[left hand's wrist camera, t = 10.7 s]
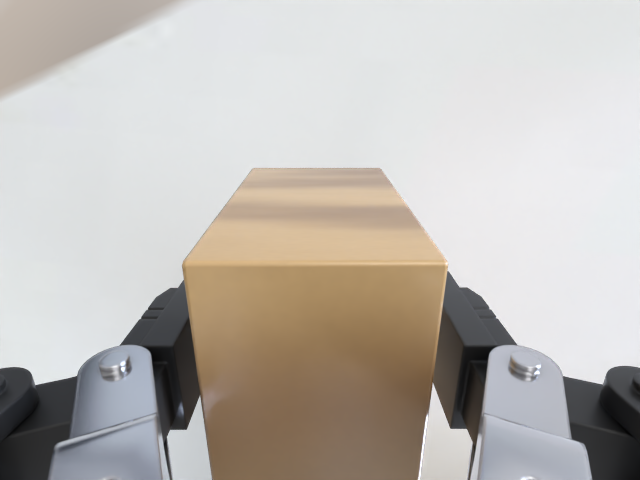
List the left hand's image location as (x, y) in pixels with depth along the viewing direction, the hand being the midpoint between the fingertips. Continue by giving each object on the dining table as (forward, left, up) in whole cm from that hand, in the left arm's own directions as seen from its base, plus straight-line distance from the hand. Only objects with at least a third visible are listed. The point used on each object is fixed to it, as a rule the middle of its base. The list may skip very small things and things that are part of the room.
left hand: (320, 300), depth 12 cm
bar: (+8, +4, -4) cm, 10 cm away
